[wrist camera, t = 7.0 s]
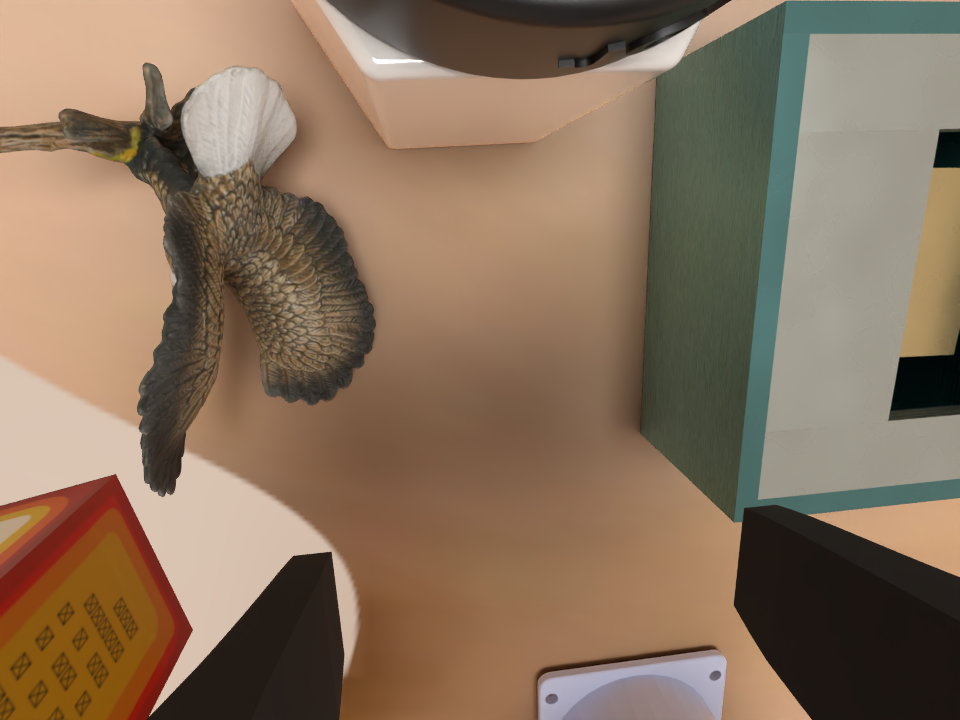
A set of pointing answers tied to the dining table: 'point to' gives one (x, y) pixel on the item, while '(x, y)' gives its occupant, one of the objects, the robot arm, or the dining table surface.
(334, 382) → the eagle figurine
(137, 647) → the baking soda box
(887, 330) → the box
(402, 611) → the dining table surface
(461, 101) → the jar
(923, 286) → the block
